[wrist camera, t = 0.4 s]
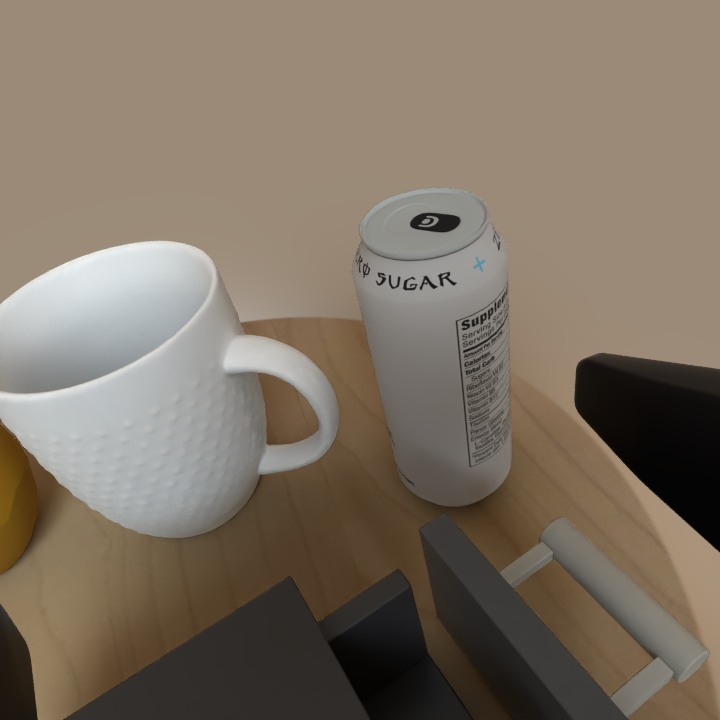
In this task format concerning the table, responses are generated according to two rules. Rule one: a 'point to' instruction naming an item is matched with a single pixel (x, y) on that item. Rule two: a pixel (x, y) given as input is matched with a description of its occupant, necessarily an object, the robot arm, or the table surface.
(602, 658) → the table surface
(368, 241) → the energy drink can
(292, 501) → the table surface
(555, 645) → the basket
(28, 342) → the mug
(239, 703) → the dark grey open box
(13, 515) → the apple
